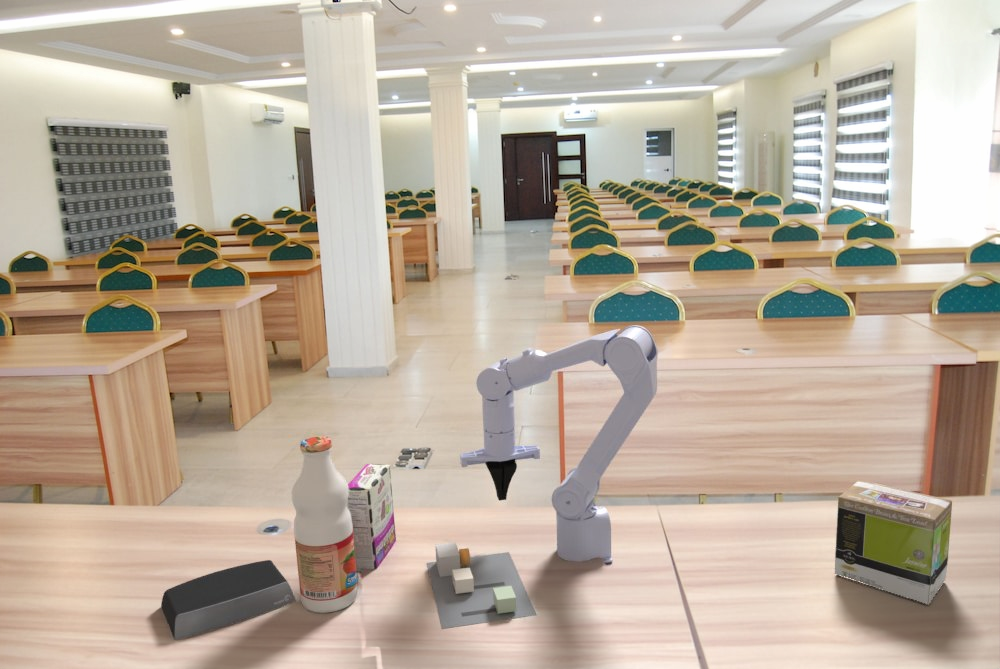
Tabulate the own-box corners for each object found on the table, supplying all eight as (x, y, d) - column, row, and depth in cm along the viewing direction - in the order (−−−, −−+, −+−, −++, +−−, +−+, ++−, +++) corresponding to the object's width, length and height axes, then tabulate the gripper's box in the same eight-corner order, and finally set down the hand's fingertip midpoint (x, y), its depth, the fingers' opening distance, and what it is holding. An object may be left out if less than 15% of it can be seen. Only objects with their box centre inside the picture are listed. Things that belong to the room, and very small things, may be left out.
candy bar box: (372, 543, 154) (366, 462, 150) (397, 545, 153) (391, 463, 149) (350, 573, 143) (342, 487, 140) (376, 575, 142) (370, 488, 139)
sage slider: (511, 599, 131) (511, 585, 130) (516, 611, 127) (516, 597, 127) (493, 601, 130) (492, 588, 130) (497, 613, 127) (497, 599, 126)
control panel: (508, 557, 147) (508, 533, 146) (537, 620, 127) (536, 594, 126) (426, 567, 144) (425, 544, 143) (442, 634, 124) (440, 607, 123)
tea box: (946, 582, 134) (955, 499, 131) (928, 607, 127) (936, 520, 123) (853, 554, 144) (859, 476, 141) (832, 576, 137) (837, 495, 134)
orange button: (467, 559, 144) (467, 545, 143) (470, 567, 141) (469, 552, 140) (459, 560, 143) (458, 546, 143) (461, 568, 141) (460, 553, 140)
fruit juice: (296, 592, 138) (280, 437, 131) (350, 579, 141) (337, 427, 135) (307, 620, 129) (291, 455, 123) (364, 605, 133) (352, 444, 127)
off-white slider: (470, 580, 137) (469, 567, 136) (473, 591, 133) (473, 578, 133) (452, 582, 136) (452, 569, 136) (455, 593, 133) (455, 580, 132)
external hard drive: (298, 605, 134) (295, 583, 134) (175, 645, 125) (172, 621, 124) (274, 573, 145) (272, 552, 144) (160, 607, 135) (157, 585, 135)
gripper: (532, 417, 152) (534, 485, 155) (456, 425, 149) (459, 493, 152) (542, 429, 145) (543, 500, 148) (462, 438, 142) (465, 509, 145)
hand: (501, 498), depth 150 cm, fingers closed
